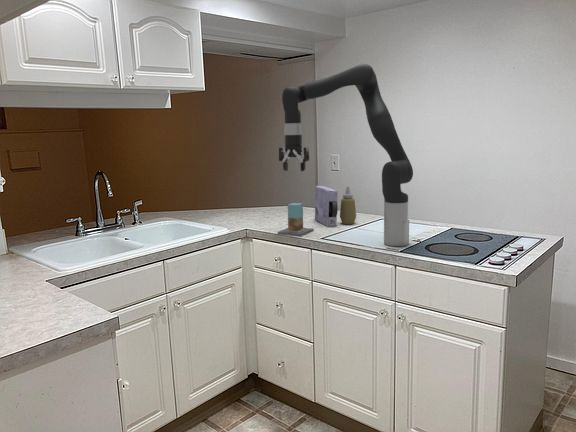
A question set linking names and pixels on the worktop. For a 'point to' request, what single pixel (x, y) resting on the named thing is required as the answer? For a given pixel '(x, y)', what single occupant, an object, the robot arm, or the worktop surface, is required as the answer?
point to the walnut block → (295, 224)
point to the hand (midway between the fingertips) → (294, 170)
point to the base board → (294, 233)
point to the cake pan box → (326, 206)
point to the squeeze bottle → (348, 208)
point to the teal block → (295, 210)
